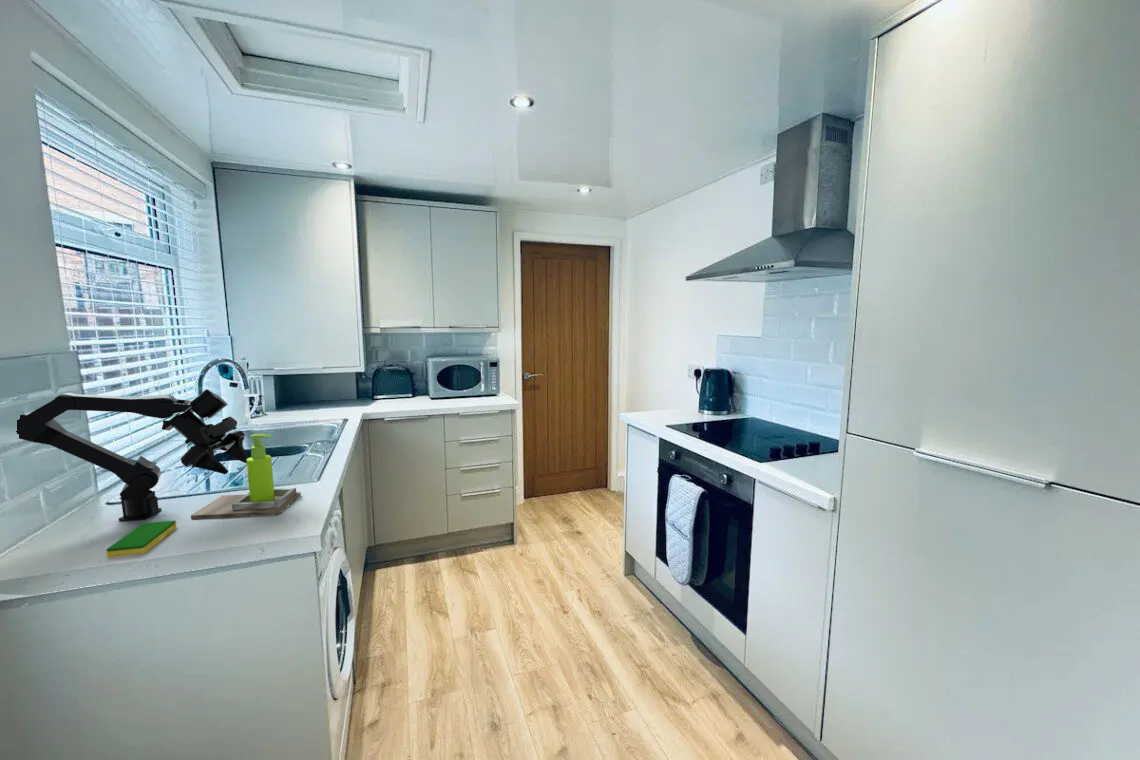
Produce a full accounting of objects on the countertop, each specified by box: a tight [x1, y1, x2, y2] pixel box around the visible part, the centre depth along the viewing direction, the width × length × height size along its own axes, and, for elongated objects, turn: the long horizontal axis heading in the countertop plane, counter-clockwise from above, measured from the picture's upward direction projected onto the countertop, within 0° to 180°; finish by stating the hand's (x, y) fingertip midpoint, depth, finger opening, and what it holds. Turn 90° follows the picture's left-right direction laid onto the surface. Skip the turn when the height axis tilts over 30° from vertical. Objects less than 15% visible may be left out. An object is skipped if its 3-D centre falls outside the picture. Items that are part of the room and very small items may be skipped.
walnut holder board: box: [190, 487, 301, 520], centre depth 132 cm, size 22×14×3 cm, turn 98°
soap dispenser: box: [246, 433, 275, 502], centre depth 132 cm, size 6×7×20 cm
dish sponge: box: [105, 520, 177, 558], centre depth 112 cm, size 7×14×2 cm, turn 15°
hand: (238, 467), depth 132 cm, fingers open, 9 cm apart
